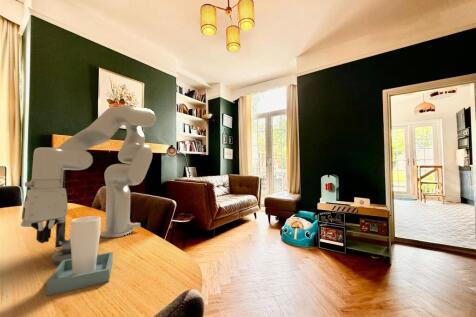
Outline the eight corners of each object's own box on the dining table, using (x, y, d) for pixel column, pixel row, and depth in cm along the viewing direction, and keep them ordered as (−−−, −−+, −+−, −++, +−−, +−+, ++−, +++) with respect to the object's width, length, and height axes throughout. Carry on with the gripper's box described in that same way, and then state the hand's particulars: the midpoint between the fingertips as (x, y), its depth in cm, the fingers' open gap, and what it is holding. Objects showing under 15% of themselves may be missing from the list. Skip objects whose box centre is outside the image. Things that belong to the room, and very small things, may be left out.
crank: (84, 248, 67) (85, 221, 67) (66, 254, 62) (67, 225, 63) (66, 243, 71) (67, 217, 72) (48, 248, 67) (50, 220, 67)
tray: (112, 262, 63) (112, 251, 64) (108, 281, 53) (109, 269, 53) (62, 271, 58) (62, 260, 58) (46, 296, 47) (46, 282, 47)
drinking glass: (74, 283, 50) (76, 223, 51) (64, 275, 54) (66, 219, 55) (103, 271, 56) (105, 218, 57) (92, 265, 60) (94, 214, 60)
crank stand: (88, 260, 65) (88, 250, 65) (50, 268, 59) (51, 258, 59) (87, 244, 77) (87, 236, 77) (56, 250, 72) (56, 242, 72)
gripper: (19, 187, 57) (13, 252, 56) (79, 184, 70) (76, 237, 69) (10, 185, 61) (4, 247, 60) (69, 183, 74) (65, 233, 73)
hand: (43, 241), depth 64 cm, fingers closed
